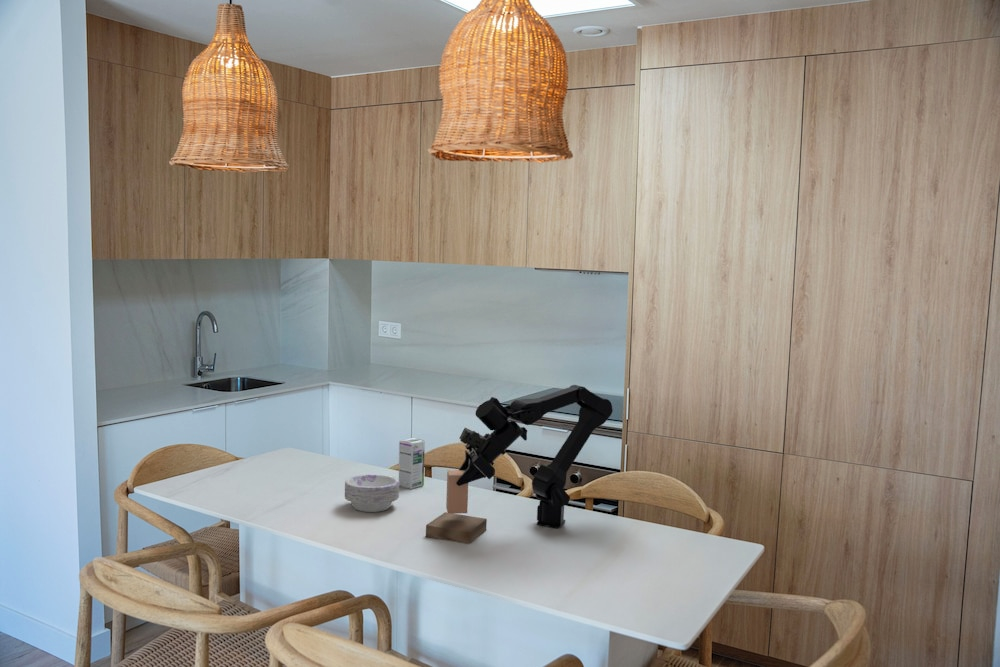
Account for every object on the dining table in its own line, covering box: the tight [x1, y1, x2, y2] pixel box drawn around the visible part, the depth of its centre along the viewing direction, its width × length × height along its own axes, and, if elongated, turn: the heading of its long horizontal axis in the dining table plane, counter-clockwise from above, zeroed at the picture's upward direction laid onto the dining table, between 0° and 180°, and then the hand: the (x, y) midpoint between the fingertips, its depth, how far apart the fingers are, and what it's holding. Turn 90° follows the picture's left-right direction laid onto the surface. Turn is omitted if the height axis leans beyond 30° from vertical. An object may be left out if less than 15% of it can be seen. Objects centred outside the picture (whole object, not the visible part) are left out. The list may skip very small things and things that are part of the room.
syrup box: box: [398, 437, 426, 490], centre depth 253 cm, size 6×6×14 cm
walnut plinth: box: [425, 511, 488, 545], centre depth 212 cm, size 12×12×3 cm
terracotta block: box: [445, 469, 469, 514], centre depth 211 cm, size 5×5×10 cm
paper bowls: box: [344, 474, 400, 513], centre depth 230 cm, size 15×15×8 cm
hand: (456, 481), depth 211 cm, fingers closed on terracotta block, 5 cm apart
